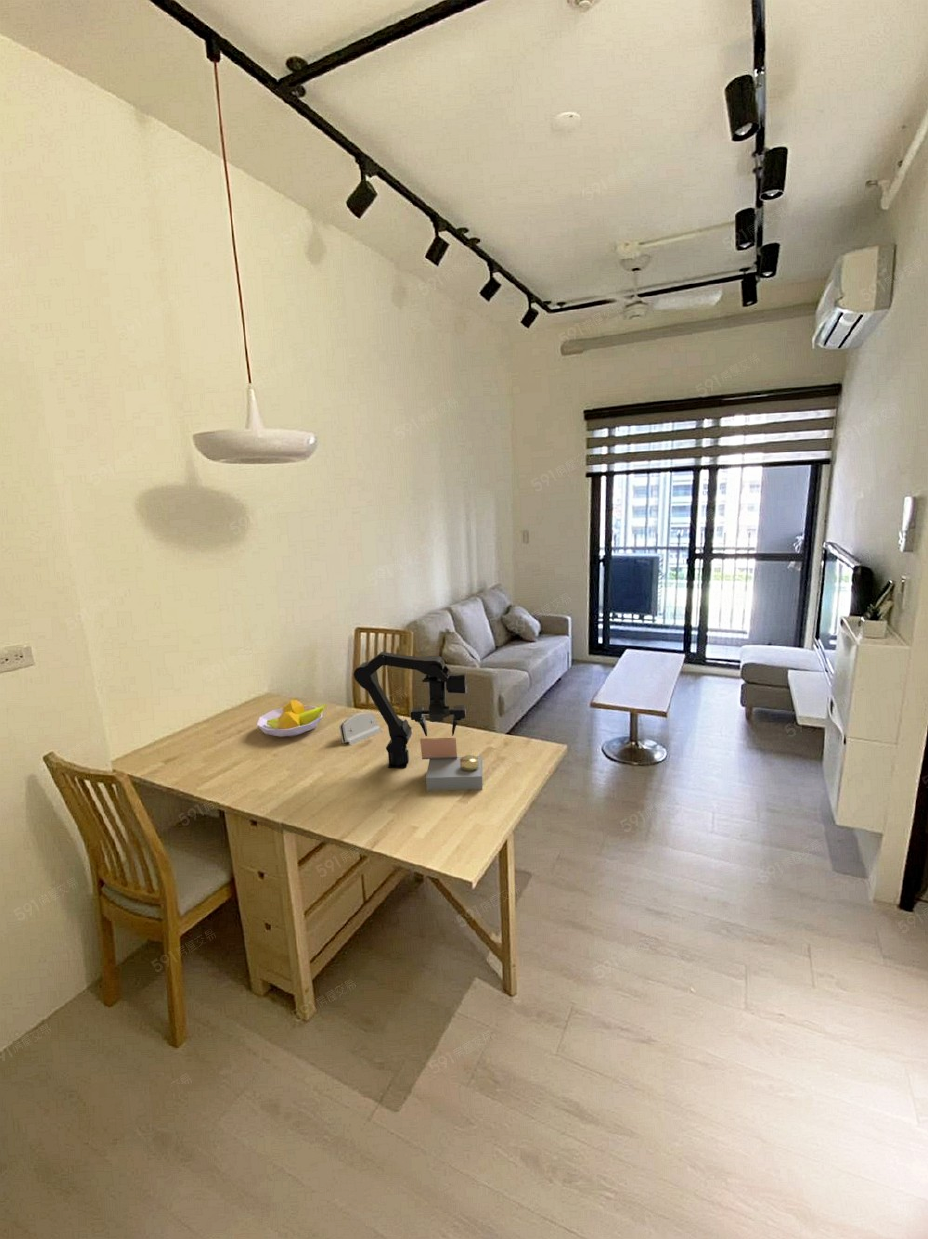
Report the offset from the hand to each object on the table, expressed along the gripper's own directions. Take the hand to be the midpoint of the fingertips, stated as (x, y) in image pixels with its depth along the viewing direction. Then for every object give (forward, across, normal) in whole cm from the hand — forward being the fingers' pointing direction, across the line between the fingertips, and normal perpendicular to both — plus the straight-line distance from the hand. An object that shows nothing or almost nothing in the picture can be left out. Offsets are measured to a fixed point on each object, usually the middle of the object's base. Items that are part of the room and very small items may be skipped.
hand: (439, 735), depth 192 cm
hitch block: (+11, +6, -11) cm, 16 cm away
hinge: (+11, -35, +27) cm, 45 cm away
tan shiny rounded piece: (+11, +10, -12) cm, 19 cm away
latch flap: (+6, 0, -5) cm, 7 cm away
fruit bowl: (+11, -64, +35) cm, 74 cm away
